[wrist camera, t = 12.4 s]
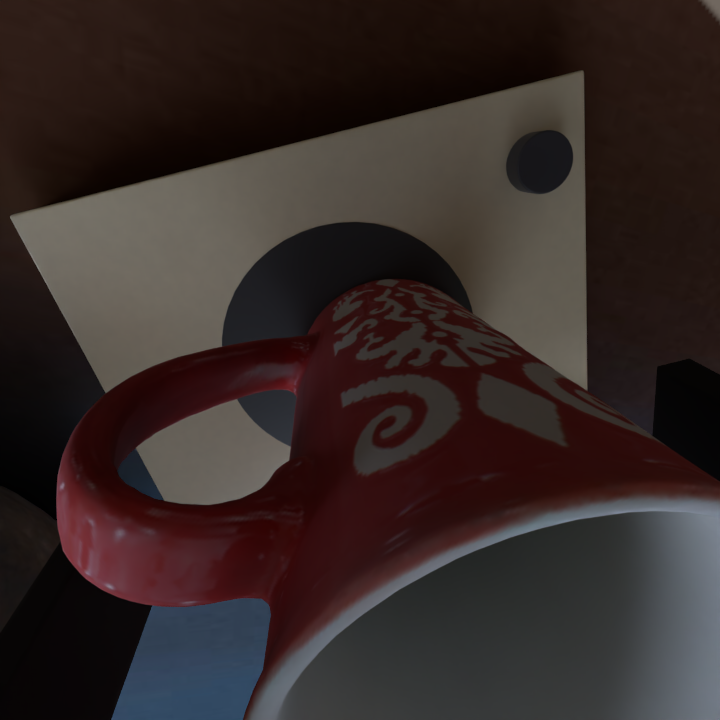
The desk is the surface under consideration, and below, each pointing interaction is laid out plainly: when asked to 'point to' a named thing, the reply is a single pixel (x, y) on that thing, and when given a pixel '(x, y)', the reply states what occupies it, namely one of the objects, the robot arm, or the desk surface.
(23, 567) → the bowl
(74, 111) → the desk surface
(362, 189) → the stove
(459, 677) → the mug
